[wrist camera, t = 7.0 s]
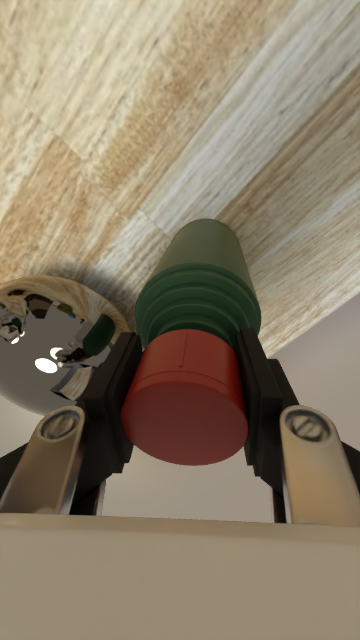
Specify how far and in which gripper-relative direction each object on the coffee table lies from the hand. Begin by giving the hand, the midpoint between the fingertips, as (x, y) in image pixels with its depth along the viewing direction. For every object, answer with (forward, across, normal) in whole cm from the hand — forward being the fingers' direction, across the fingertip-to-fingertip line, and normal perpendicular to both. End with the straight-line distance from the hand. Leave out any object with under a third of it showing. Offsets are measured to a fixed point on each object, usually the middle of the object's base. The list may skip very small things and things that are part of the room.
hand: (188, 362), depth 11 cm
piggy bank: (+15, +12, +4) cm, 20 cm away
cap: (-3, 0, 0) cm, 3 cm away
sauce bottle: (+15, -1, -1) cm, 15 cm away
